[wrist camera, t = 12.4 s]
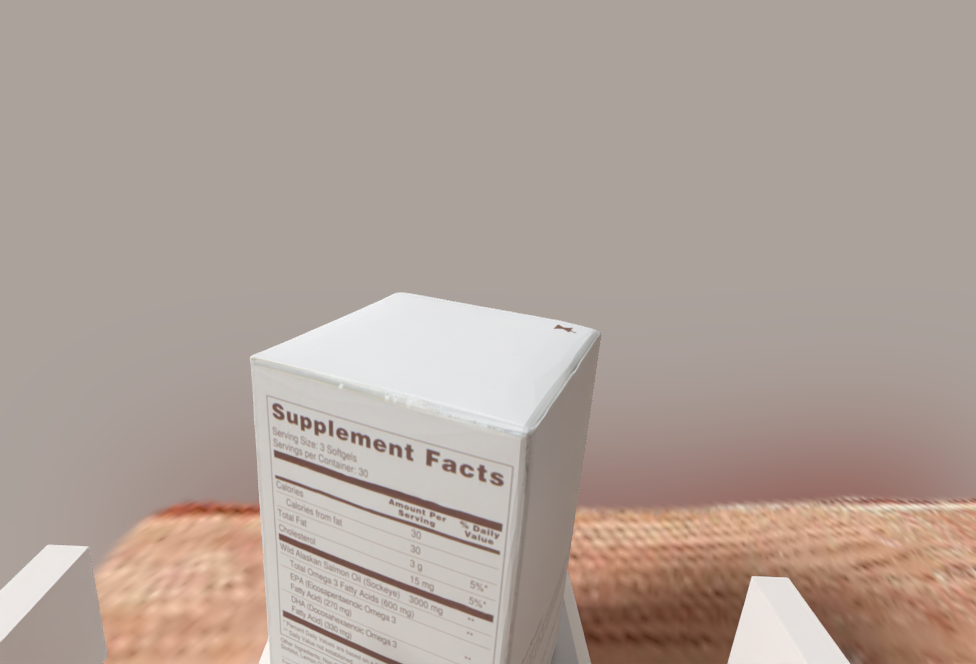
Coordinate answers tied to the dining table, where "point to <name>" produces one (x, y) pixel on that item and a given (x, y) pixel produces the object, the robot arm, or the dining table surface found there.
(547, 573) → the supplement box
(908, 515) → the dining table surface
